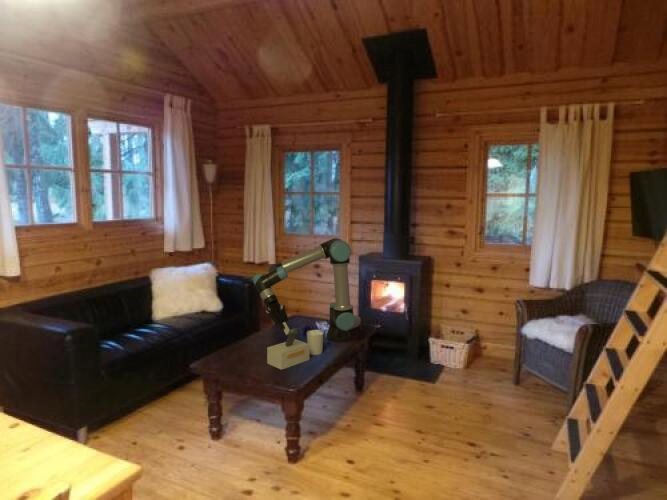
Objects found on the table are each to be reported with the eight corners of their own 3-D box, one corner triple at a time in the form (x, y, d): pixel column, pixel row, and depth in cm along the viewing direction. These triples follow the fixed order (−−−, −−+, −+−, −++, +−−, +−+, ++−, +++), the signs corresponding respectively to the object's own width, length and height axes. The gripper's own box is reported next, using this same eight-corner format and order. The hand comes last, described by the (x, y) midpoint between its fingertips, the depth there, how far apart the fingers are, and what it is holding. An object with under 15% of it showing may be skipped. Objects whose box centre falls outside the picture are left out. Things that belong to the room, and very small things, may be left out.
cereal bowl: (364, 326, 317) (365, 316, 316) (353, 333, 303) (353, 322, 302) (343, 322, 326) (343, 313, 325) (331, 328, 312) (331, 318, 311)
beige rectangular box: (295, 354, 265) (295, 338, 264) (309, 359, 257) (309, 344, 255) (267, 363, 251) (267, 347, 250) (281, 369, 242) (281, 353, 241)
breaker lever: (290, 342, 255) (296, 326, 250) (293, 345, 253) (299, 329, 249) (283, 344, 251) (289, 328, 246) (286, 347, 250) (292, 331, 245)
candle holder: (317, 356, 261) (317, 336, 260) (303, 353, 266) (303, 333, 265) (326, 351, 270) (326, 331, 268) (312, 348, 275) (312, 328, 273)
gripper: (275, 299, 267) (294, 334, 258) (257, 303, 258) (276, 339, 249) (281, 292, 263) (300, 327, 254) (262, 296, 254) (282, 332, 245)
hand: (288, 333), depth 251 cm, fingers closed
